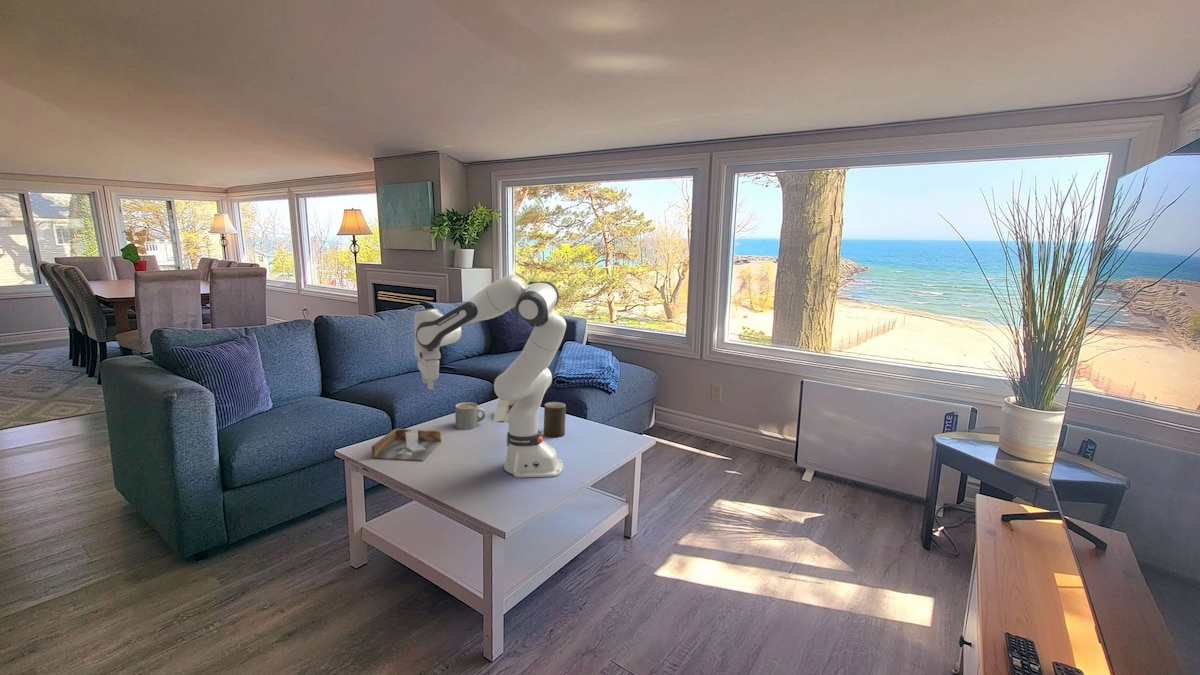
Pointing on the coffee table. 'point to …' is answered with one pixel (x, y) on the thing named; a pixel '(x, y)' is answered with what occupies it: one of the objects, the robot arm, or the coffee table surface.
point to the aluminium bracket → (413, 442)
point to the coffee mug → (467, 415)
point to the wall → (503, 410)
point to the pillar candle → (554, 419)
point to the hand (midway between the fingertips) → (427, 385)
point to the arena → (395, 445)
